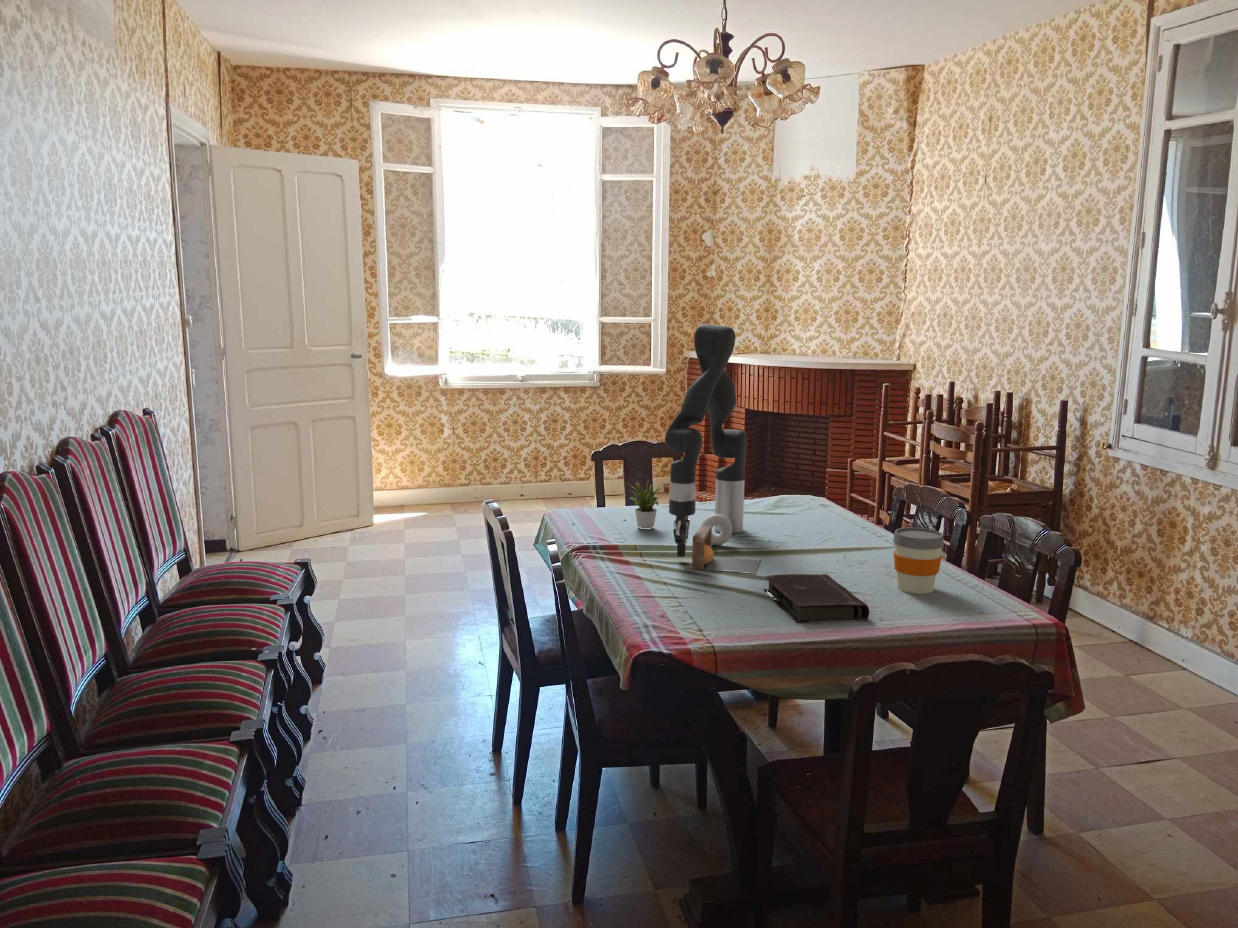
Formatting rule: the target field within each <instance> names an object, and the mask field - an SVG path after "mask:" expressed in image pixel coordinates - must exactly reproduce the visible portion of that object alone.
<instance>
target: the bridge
mask: <svg viewBox="0 0 1238 928" xmlns="http://www.w3.org/2000/svg"><path fill="white" fill-rule="evenodd" d="M712 534H713V527H712V526H700V527H699V528H698V529H697V531H696V533H695V534H694V535H693V536H692V549H691V550H692V551H691V552H692V554H691V555H692V557H691V558H692V559H691V570H693V571H694V570H696V571H703V570H705V564H704V545H708V546H709V547H711V548H712V545H711V538H712Z"/></svg>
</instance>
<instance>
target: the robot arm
mask: <svg viewBox="0 0 1238 928" xmlns="http://www.w3.org/2000/svg"><path fill="white" fill-rule="evenodd" d="M693 339H694V340H693V342H694V349H695V350H694V351H695V354H696V357H697V362H698V364H699V368H700V371H701V375H700V376H699V377H698V378H697V379H696V380H694V382H693V383H692V384H691V385H690V386H689V388H687V391H686V392H685V395H684V399H683V401H682V405H681V407H680V411H679V412H678V413H677V415H676V416H675V417H674V419H673V420H672V422H671V424H670V425H669V427H668V429H667V431H666V433H665V436H664V442H665V447H666V448H667V449H668V451H671V452H677V453H684V454H683V457H682V459H678V460H674V461H673V462H671V465H670V478H669V479H670V480H669V481H670V483H669V490H668V491H669V492H668V497H669V498H668V513H669V514H670V515H672V516H675V517H676V518H675V520H673V531H672V532H673V538H674V544H676V545H677V546H676V555H677V557H678V558H684V557H685V556H686V552H687V551H686V549H687V548H686V546H687V545H686V544H687V542H688V539H689V530H690V525H691V520H690V519H689V517H690V516H694V515H695V514H696V496H697V488H696V468H697V463H698V459H699V456H700V453H701V450H702V447H703V437H702V434H701V431H699V430H698V429H697V428H693V427H692V428H690V427H691V426H693V425H698V424H701V423H702V422H703V420H704V419H705V416H706V413H708V416H709V417H708V418H709V424H710V437H711V440H710V441H711V448H712V453H713V455H714V457H717V458H722V459H724V458H725V459H734V460H733V461H734V462H733V463H732V464H729V465H727V466H724V467H720V468H718V469H716V472H715V496H714V497H715V501H714V502H715V504H714V506H715V507H714V514H721V515H724V516H726V517H727V518H728V519H729V520H730V522H731V524H732V529H733V530H732V533H733V534H739V533H742V532H743V531H744V510H745V509H744V507H745V506H744V505H745V475H746V474H745V472H746V455H747V447H748V444H747V443H748V435H747V433H746V431H745V430H742V429H732V428H731V429H730V428H729V429H728V428H724V427H723V425H724V424H725V421H726V420H727V419H728V417H729V416H730V415H731V413H732V412H733V411H734V410H735V407H736V404H737V394H736V388H735V383H734V382H733V379H732V378H731V377H730V375H729V374H728V373H727V372H726V370H725V368H726V367H727V364H728V362H729V361H730V358H731V357H732V354H733V352H734V348H735V343H736V334H735V331H734V329H733V328H732V327H729V326H724V325H717V324H709V323H702V324H699V325H698V326H697V328H696V330H695V332H694V338H693ZM715 530H716V531H715ZM721 530H722V529H721V526H720V525H715V526H714V531H715V532H717V531H718V532H717V533H720V532H721Z"/></svg>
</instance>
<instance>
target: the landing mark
mask: <svg viewBox="0 0 1238 928" xmlns="http://www.w3.org/2000/svg"><path fill="white" fill-rule="evenodd" d="M761 561H762V560H761V559H751V558H737V557H725V556H724V557H723V556H715V555H714V556H713V559H712V561H711V562H709V563H707V564H706V567H704V571H708V570H714V571H713V572H721V571H723V570H734V571H735V572H750V573H755V574H756V573H757V571H758V569H759V565H760V563H761ZM738 570H739V571H738ZM740 570H741V571H740ZM734 571H729V572H727V571H726V572H725V573H733V572H734Z"/></svg>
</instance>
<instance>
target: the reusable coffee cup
mask: <svg viewBox="0 0 1238 928" xmlns="http://www.w3.org/2000/svg"><path fill="white" fill-rule="evenodd" d="M892 542H893V544H894V551H893V563H894V570H895V572H896V583H897V584H896V585H897V589H898V590H900V591H902V592H905V593H910V594H917V595H923V594H924V595H926V593H927V594H930V593H932V592H934V588H935V584H936V577H937V575H938V574H939V571H940V567H941V563H942V558H943V557H942V554H941V553H942V549H943V547H944V545H945V543H944V534H943V533H942V532H941V531H938V530H934V529H930V528H924V527H900V528H897V529H895V530H894V533H893V539H892Z"/></svg>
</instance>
